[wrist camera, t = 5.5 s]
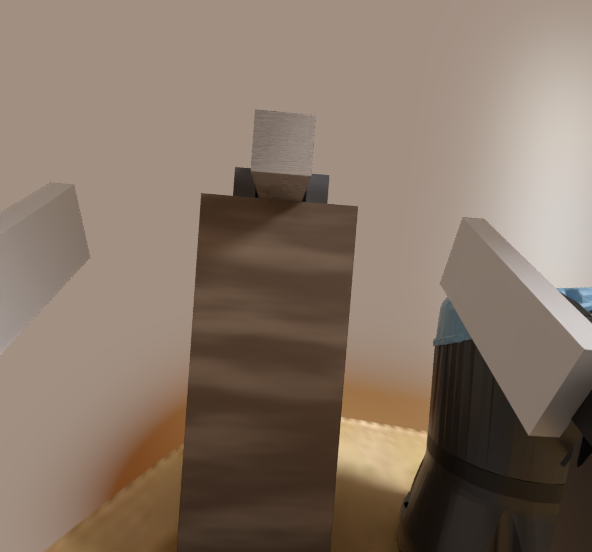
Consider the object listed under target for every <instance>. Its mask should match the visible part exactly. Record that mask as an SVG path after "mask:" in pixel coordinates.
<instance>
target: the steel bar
mask: <svg viewBox="0 0 592 552" xmlns="http://www.w3.org/2000/svg"><path fill="white" fill-rule="evenodd" d="M315 121H316V115H308V114H297V113H286V112H276V111H266V110H255V120H254V133H253V146H252V160H251V174H252V177H253V180H254V183H255V187H256V190H257V193H258V197H259V198H263V199H275V200H287V201H299V202H302V200H303V197H304V194H305V192H306V189H307V186H308V184H309V181H310V178H311V173H312V160H313V147H314V134H315V133H314V132H315Z"/></svg>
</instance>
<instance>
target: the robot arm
mask: <svg viewBox="0 0 592 552" xmlns="http://www.w3.org/2000/svg"><path fill="white" fill-rule="evenodd" d="M89 258H90V255H89V250H88V245H87V241H86V236H85V232H84V227H83V223H82V218H81V214H80V209H79V204H78V200H77V195H76V191H75V186H74V185H73V184H61V183H49V184H47V185H46V186H44V187H42V188H40V189H39V190H37V191H36V192H34V193H32V194H31V195H29V196H27V197H26V198H24V199H22V200H21V201H19V202H17V203H16V204H14V205H12V206H11V207H9V208H7V209H6V210H4V211H3V212H1V213H0V355H1V354H2V353H3V352H4V351H5V350H6V349H7V347H8V346H9V345H10V344H11V343H12V342H13V341H14V339H16V338H17V337H18V335H19V334H20V333H21V332H22V331H23V330H24V329H25V328H26V327H27V326H28V325H29V324H30V322H31V321H32V320H33V319H34V318H35V317H36V316H37V315H38V314H39V313H40V312H41V310H42V309H43V308H44V307H45V306H46V305H47V304H48V303H49V302H50V301H51V300H52V298H53V297H54V296H55V295H56V294H57V293H58V292H59V291H60V290H61V289H62V288H63V286H64V285H65V284H66V283H67V282H68V281H69V280H70V279H71V277H73V275H74V274H75V273H76V272H77V271H78V270H79V269H80V268H81V267H82V266H83V265H84V264H85V263H86V261H87V260H88V259H89ZM440 285H441V286H442V288H443V290H444V291H445V293H446V295H447V298H446V299H445V300H444V301H443V303H442V306H441V308H440V315H439V322H438V328H437V336H436V338H435V340H434V341H433V346H435V351H434V352H435V353H434V363H433V376H432V389H431V401H430V413H429V425H428V437H427V448H426V453H425V456H424V458H423V460H422V462H421V465H420V467H419V469H418V471H417V474H416V476H415V478H414V481H413V484H412V487H411V490H410V492H409V493H408V494H407V496H406V497H405V499H404V501H403V504H402V506H401V510H400V517H399V529H398V545H399V549H400V552H592V288H558V289H557V288H555V287H554V286H553V285H552V284H550V282H549V281H548V280H547V279H545V278H544V277H543V276H542V275H541V274H540V273H539V272H538V271H537V270H536V269H535V268H534V267H533V266H532V265H531V264H530V263H529V262H528V261H527V260H526V259H525V258H524V257H523V256H522V255H521V254H520V253H519V252H518V251H517V250H516V249H515V248H514V247H513V246H511V245H510V244H509V243H508V242H507V241H506V240H505V239H504V238H503V237H502V236H501V235H500V234H499V233H498V232H497V231H496V230H495V229H494V228H493V227H492V226H491V225H490V224H489V223H488V222H487V221H486V220H485V219H479V218H467V217H463V218H462V220H461V224H460V227H459V229H458V232H457V235H456V238H455V241H454V244H453V247H452V250H451V253H450V256H449V259H448V262H447V265H446V267H445V270H444V273H443V276H442V279H441V282H440Z"/></svg>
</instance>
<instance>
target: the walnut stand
mask: <svg viewBox="0 0 592 552" xmlns="http://www.w3.org/2000/svg"><path fill="white" fill-rule="evenodd" d="M328 186H329V175H319V174H311V178H310V181H309V184H308V186H307V189H306V192H305V194H304V197H303V200H302V202H299V201H287V200H275V199H263V198H259V197H258V193H257V190H256V187H255V183H254V180H253V177H252V174H251V168H239V167H235V177H234V191H233V196H226V195H215V194H203V193H201V205H200V221H199V234H198V251H197V263H196V278H195V292H194V307H193V321H192V337H191V350H190V365H189V380H188V396H187V408H186V423H185V437H184V452H183V466H182V481H181V496H180V510H179V525H178V539H177V552H330V546H331V533H332V521H333V509H334V496H335V484H336V472H337V459H338V447H339V435H340V422H341V410H342V397H343V385H344V373H345V360H346V348H347V336H348V322H349V310H350V299H351V286H352V273H353V262H354V248H355V237H356V224H357V211H358V207H357V206H346V205H334V204H327V199H328Z"/></svg>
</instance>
